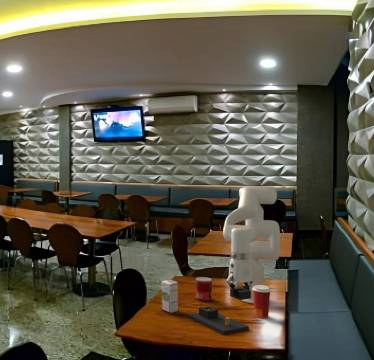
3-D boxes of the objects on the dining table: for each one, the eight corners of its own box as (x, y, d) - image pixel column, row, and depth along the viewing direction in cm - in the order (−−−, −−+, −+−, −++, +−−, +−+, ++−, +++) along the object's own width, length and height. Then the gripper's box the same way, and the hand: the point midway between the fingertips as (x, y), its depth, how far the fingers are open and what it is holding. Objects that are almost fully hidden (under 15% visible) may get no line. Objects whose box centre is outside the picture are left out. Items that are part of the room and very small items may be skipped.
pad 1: (209, 313, 210) (209, 305, 210) (218, 317, 205) (218, 309, 204) (198, 314, 208) (198, 307, 208) (207, 319, 202) (207, 311, 202)
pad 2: (240, 294, 200) (240, 287, 200) (251, 298, 194) (251, 290, 194) (230, 296, 197) (230, 288, 197) (240, 300, 192) (240, 292, 192)
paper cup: (269, 314, 211) (269, 285, 211) (271, 320, 204) (272, 290, 203) (251, 312, 214) (251, 284, 213) (253, 318, 207) (253, 288, 206)
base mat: (212, 313, 214) (212, 304, 213) (248, 329, 193) (248, 319, 193) (189, 317, 209) (189, 308, 208) (223, 334, 188) (223, 324, 188)
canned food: (213, 301, 231) (213, 281, 230) (196, 301, 232) (196, 280, 232) (210, 297, 238) (210, 277, 238) (195, 296, 240) (195, 276, 239)
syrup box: (178, 310, 218) (178, 281, 217) (169, 313, 215) (169, 283, 214) (169, 307, 223) (169, 279, 222) (161, 309, 220) (161, 281, 219)
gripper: (232, 259, 188) (231, 301, 189) (262, 255, 195) (261, 296, 196) (219, 256, 195) (218, 296, 196) (248, 252, 202) (248, 291, 203)
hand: (240, 296), depth 196 cm, fingers closed on pad 2, 6 cm apart
